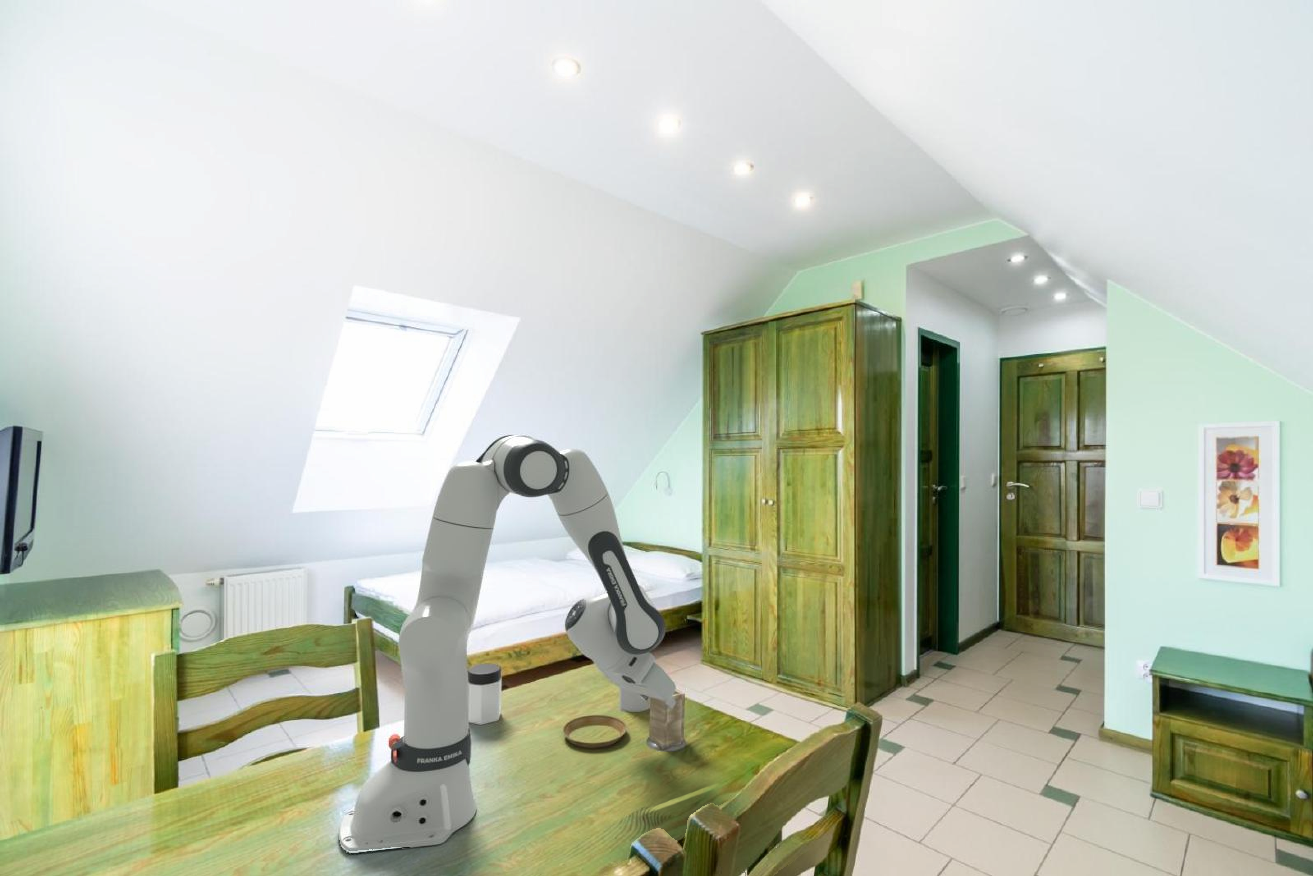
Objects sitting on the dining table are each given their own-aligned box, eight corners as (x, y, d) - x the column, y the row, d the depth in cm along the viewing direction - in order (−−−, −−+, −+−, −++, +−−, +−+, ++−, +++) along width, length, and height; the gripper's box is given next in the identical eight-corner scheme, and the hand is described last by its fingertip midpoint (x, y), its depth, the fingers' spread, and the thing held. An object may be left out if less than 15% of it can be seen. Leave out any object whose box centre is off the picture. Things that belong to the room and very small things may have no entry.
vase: (663, 749, 138) (664, 698, 138) (649, 739, 142) (650, 690, 143) (687, 742, 141) (688, 692, 142) (672, 733, 146) (674, 685, 146)
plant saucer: (624, 755, 137) (625, 743, 137) (557, 754, 137) (557, 742, 137) (628, 726, 152) (628, 715, 152) (567, 725, 152) (567, 714, 152)
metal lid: (661, 757, 135) (661, 741, 135) (638, 741, 143) (638, 726, 143) (694, 747, 140) (694, 731, 140) (670, 732, 148) (670, 717, 148)
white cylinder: (650, 714, 158) (650, 666, 158) (618, 714, 158) (618, 665, 158) (651, 702, 166) (651, 656, 166) (620, 701, 166) (621, 655, 167)
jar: (494, 708, 161) (495, 660, 161) (507, 718, 154) (508, 669, 155) (459, 716, 155) (460, 667, 156) (471, 728, 149) (472, 676, 149)
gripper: (587, 667, 141) (625, 705, 145) (639, 681, 125) (680, 723, 129) (604, 644, 145) (640, 681, 149) (656, 654, 128) (695, 696, 132)
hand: (659, 701), depth 139 cm, fingers open, 8 cm apart
